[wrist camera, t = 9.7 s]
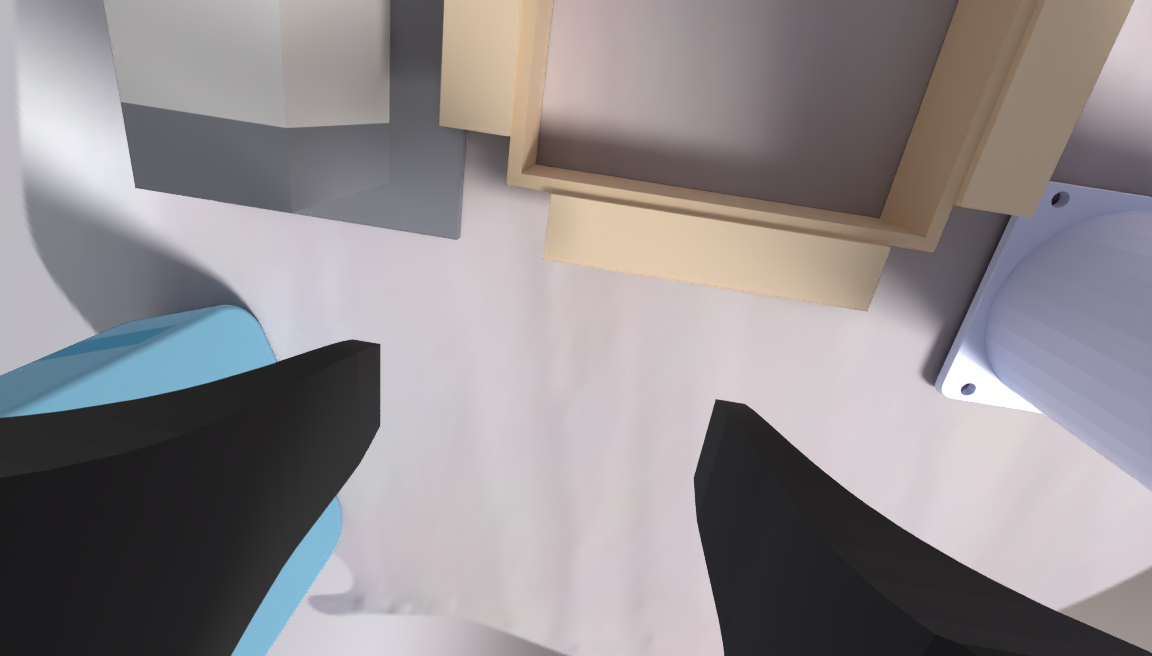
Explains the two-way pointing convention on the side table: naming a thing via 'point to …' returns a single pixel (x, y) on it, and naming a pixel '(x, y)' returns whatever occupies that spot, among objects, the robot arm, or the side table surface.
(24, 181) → the side table surface
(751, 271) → the carton
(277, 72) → the capped box
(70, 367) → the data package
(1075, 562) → the side table surface
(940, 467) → the side table surface
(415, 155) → the mat
